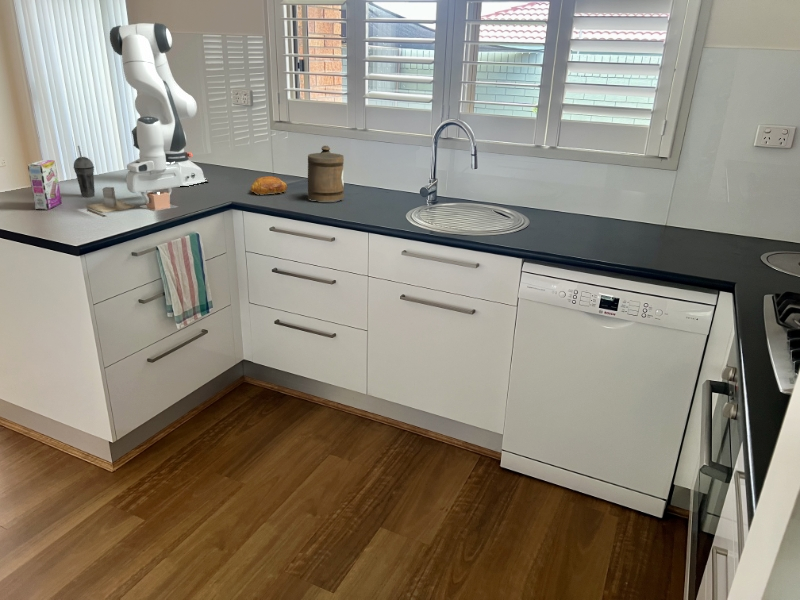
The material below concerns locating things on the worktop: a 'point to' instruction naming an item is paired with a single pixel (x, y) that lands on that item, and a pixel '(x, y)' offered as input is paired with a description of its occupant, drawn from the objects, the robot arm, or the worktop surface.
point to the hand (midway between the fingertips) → (157, 201)
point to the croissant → (268, 185)
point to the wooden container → (325, 176)
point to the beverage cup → (85, 175)
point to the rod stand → (159, 208)
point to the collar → (158, 200)
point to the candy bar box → (44, 184)
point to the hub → (109, 203)
